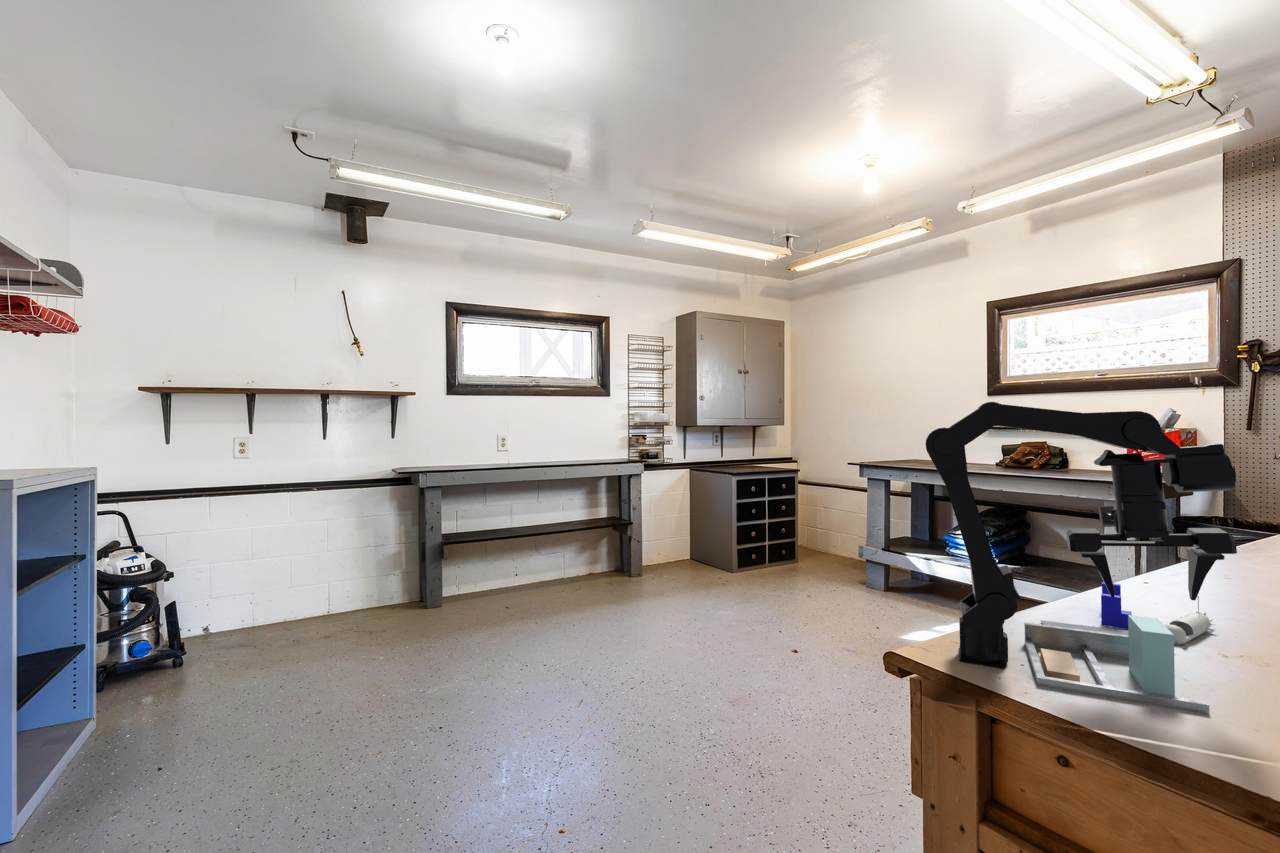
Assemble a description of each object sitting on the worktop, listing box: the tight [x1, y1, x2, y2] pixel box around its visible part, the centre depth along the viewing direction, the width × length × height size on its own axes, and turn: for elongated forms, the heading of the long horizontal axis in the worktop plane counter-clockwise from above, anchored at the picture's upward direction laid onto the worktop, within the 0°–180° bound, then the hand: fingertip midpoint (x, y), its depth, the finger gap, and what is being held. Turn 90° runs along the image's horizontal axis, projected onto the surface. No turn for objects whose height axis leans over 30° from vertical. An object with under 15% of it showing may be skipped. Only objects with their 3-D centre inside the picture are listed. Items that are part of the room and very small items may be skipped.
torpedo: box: [1164, 596, 1217, 646], centre depth 107 cm, size 18×5×7 cm, turn 122°
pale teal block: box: [1127, 614, 1176, 696], centre depth 87 cm, size 4×8×9 cm, turn 151°
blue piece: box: [1100, 581, 1133, 630], centre depth 116 cm, size 12×4×6 cm, turn 141°
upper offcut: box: [1040, 647, 1081, 682], centre depth 92 cm, size 4×10×1 cm, turn 150°
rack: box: [1023, 622, 1210, 715], centre depth 90 cm, size 19×19×4 cm
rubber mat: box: [1040, 620, 1128, 635], centre depth 105 cm, size 14×14×1 cm
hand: (1151, 597), depth 87 cm, fingers open, 9 cm apart
